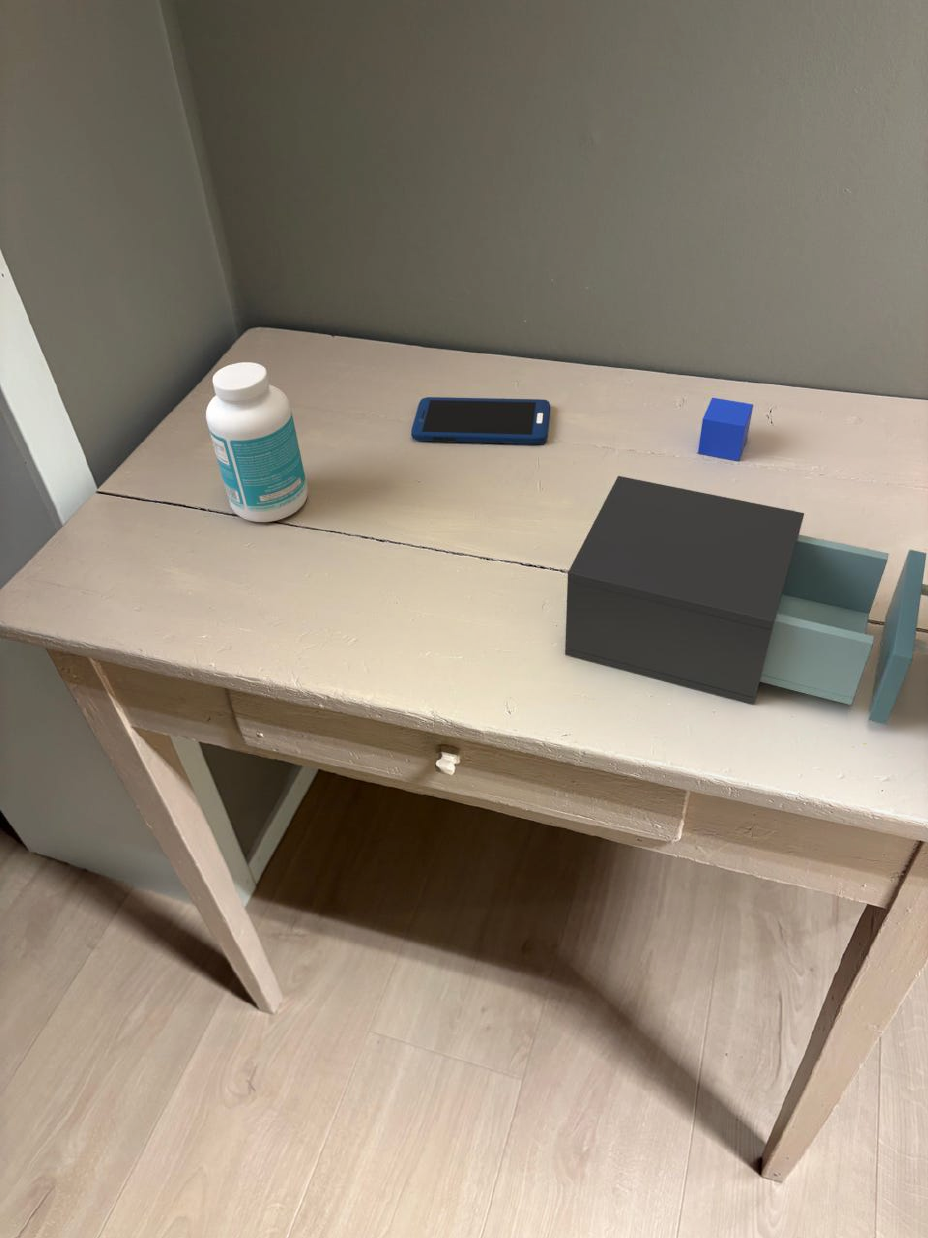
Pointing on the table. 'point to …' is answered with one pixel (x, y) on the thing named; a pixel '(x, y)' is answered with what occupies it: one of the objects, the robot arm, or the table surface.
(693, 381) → the table surface
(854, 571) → the drawer
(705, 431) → the blue block
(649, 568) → the dark grey drawer cabinet
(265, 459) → the pill bottle
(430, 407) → the cell phone
